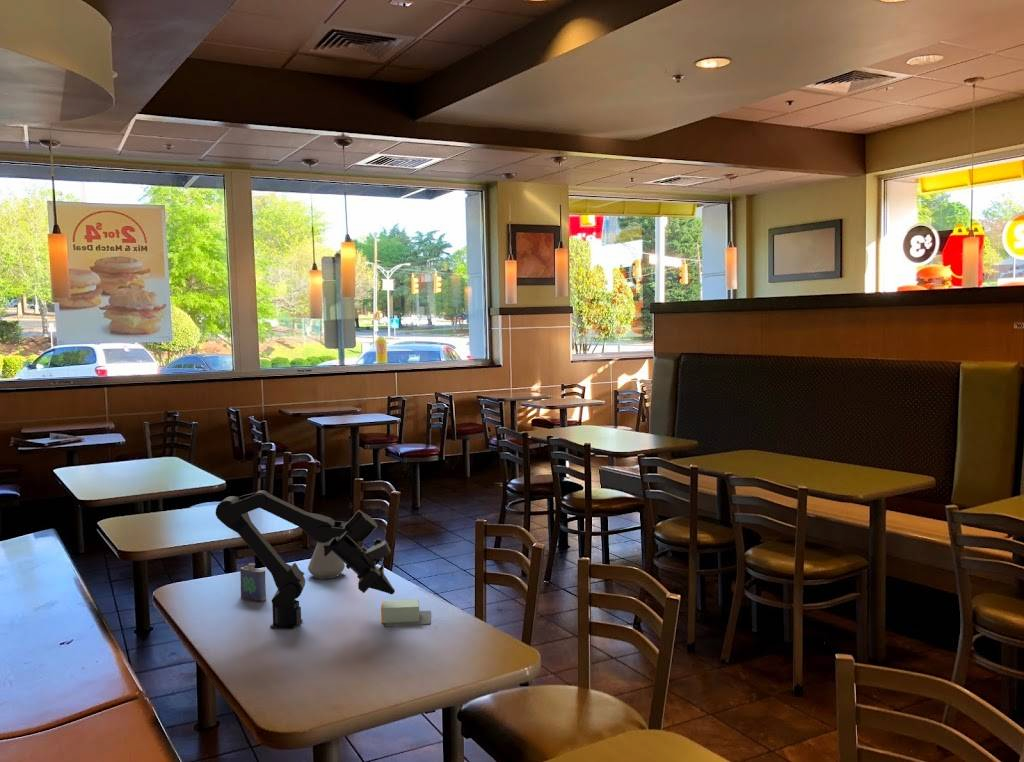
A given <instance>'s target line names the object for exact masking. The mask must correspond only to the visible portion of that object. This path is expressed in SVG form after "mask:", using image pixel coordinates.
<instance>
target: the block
mask: <svg viewBox="0 0 1024 762" xmlns="http://www.w3.org/2000/svg"><path fill="white" fill-rule="evenodd" d="M380 605H381V607H380V617H381V618H380V619H381V620H380V621H381V622H380V623H381V624H385V623H393V622H413V621H419V611H420V599H419V598H418V599H417V598H416V599H401V600H400V599H399V600H397V599H396V600H382V602H381V604H380Z"/></svg>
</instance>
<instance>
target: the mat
mask: <svg viewBox="0 0 1024 762" xmlns="http://www.w3.org/2000/svg"><path fill="white" fill-rule="evenodd" d="M423 624H429V625H431V610H419V621H413V622H393V623H384V627H403V626H404V627H405V626H406V625H408V626H423ZM406 627H407V626H406Z"/></svg>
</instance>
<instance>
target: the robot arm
mask: <svg viewBox="0 0 1024 762" xmlns="http://www.w3.org/2000/svg"><path fill="white" fill-rule="evenodd" d="M257 509H262V510H264V511H266V512H268V513H270V514H272V515H274V516H276V517H278V518H280V519H282V520H284V521H286V522H289V523H291V524H293V525H295V526H297V527H298V528H300V529H301V530H302V531H304V533H305V534H307V535H308V536H309V537H310V538H312V539H313V540H314V541H316V542H317V541H318V542H320V543H326V542H329V541H330V540H331V539H332V538H334V537H335V538H334V539H333V540H332V541H331V542H330V543H329V544H324V546H323V547H324V556H327V555H328V554H329V553H330V552H331V551H332V552H333V553H334V554H335V555H336V556H338V557H339V558H340V559H341V560H342V561H343V562H344V564H345V567H346V569H347V570H349V569H351V570H352V571H353V572H354V573H355V574H356V575H357V579H358V582H357V584H358V587H357V588H358V590H359V591H361V593H362V594H364V593H366V592H367V591H368V590H369V589H372V590H376V591H379V592H383V593H386V594H390V595H393V594H394V593H396V592H395V588H394V587H393V586H392V584H391V582H390V581H389V579H388V578H387V576H386V575H385V572H384V568H385V567H384V566H385V565H384V564H382V565H381V566H380V567H379V566H377V565H378V564H379V562H382V561H384V558H387V557H388V556H390V555H391V550H392V549H391V548H390V546H389V543H388V542H387V540H385V539H384V540H383V539H381V538H380V537H378V538H377V539H374V541H373V545H371V547H369V548H368V549H367V547H365V546H359V544H357V543H359V542H361V543H363V542H364V541H365V540H366V539H367V538H368V537H369V536H371V534H372V533H373V532H374V531H375V530H376V529H377V528H378V524H377V522H376V520H374V519H373V518H372V516H370V515H368V514H366V513H365V512H363V511H362V510H360V509H358V510H357V511H356V512H355V513H354V515H353V516H352V517H351V518H350V519H349V520H348V521H341V520H340V521H339V520H334V519H333V518H332V517H329V516H327V515H323V514H320V513H314V512H308V511H305V510H303V509H302V508H300V507H298V506H296V505H293V504H291V503H289V502H287V501H285V500H282V499H280V498H279V497H277V496H276V495H272V494H270V493H269V492H268V491H266V490H264V489H263V490H258V491H255V492H252V493H248V494H244V495H240V496H235V495H234V496H233V495H232V496H231V495H230V496H227V497H225V498H224V499H222V501H220V503H218V504H217V505H216V508H215V516H216V518H217V519H218V521H220V522H221V523H222V524H223V525H225V526H226V527H227V528H228V529H230V530H232V531H234V533H237V534H238V535H239V536H240V537H241V539H242V540H243V541H244V542H245V544H246V546H248V548H249V549H250V550H251V551H252V552H253V553H254V555H256V557H257V558H258V559H259V560H260V562H261V563H262V565H264V566H265V568H266V569H267V570H268V571H269V573H270V574H271V576H272V579H273V581H274V585H275V586H276V592H275V593H274V595H273V597H272V599H271V604H272V605H271V606H272V608H271V609H272V624H270V625H269V628H271V629H283V630H293V629H294V628H296V627H297V626H299V625H300V624H301V623H302V622H303V619H302V607H301V606H300V600H297V599H298V598H299V597H301V594H302V592H303V590H304V588H305V585H306V579H305V578H306V577H305V576H304V575H305V572H303V571H302V570H301V569H300V568H299V566H298V565H297V563H296V562H294V563H292V565H290V564H289V563H287V562H286V561H284V559H283V558H282V557H281V556H280V555H279V554H278V553H277V551H276V550H275V548H273V546H272V545H271V544H270V543H269V541H268V540H267V539H266V538H265V537H264V535H263V534H262V533H261V531H259V529H258V528H257V527H256V525H254V523H253V522H252V519H251V517H250V514H249V512H251V511H254V510H257Z"/></svg>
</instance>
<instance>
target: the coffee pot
mask: <svg viewBox="0 0 1024 762" xmlns="http://www.w3.org/2000/svg"><path fill="white" fill-rule="evenodd" d="M334 538H335V537H334ZM334 538H332V539H331V540H330V541H329V542H326V543H320V542H318V541H316V542H317V543H316V546H315V548H314V550H313V554H312V556H311V558H310V561H309V564H308V567H307V570H308V572H309V573H310V574H311V576H313V577H314V578H315V579H321V580H327V579H326V578H330V579H333V578H332V577H334V578H336V577H335V576H337V575H338V574H339V575H340V574H341V573H342V572H343V571H344V569H345V567H346V564H345V563H344V562H343V561H342V560H341V559H340V558H339V557H338V556H336V555H335V554H334V553H333V552H332V551H331V552H330V553H329V554H328V555H327V556H324V547H323V546H324V544H329V543H330V542H331V541H332V540H333V539H334ZM339 575H338V576H339ZM338 576H337V577H338ZM323 578H324V579H323Z"/></svg>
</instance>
